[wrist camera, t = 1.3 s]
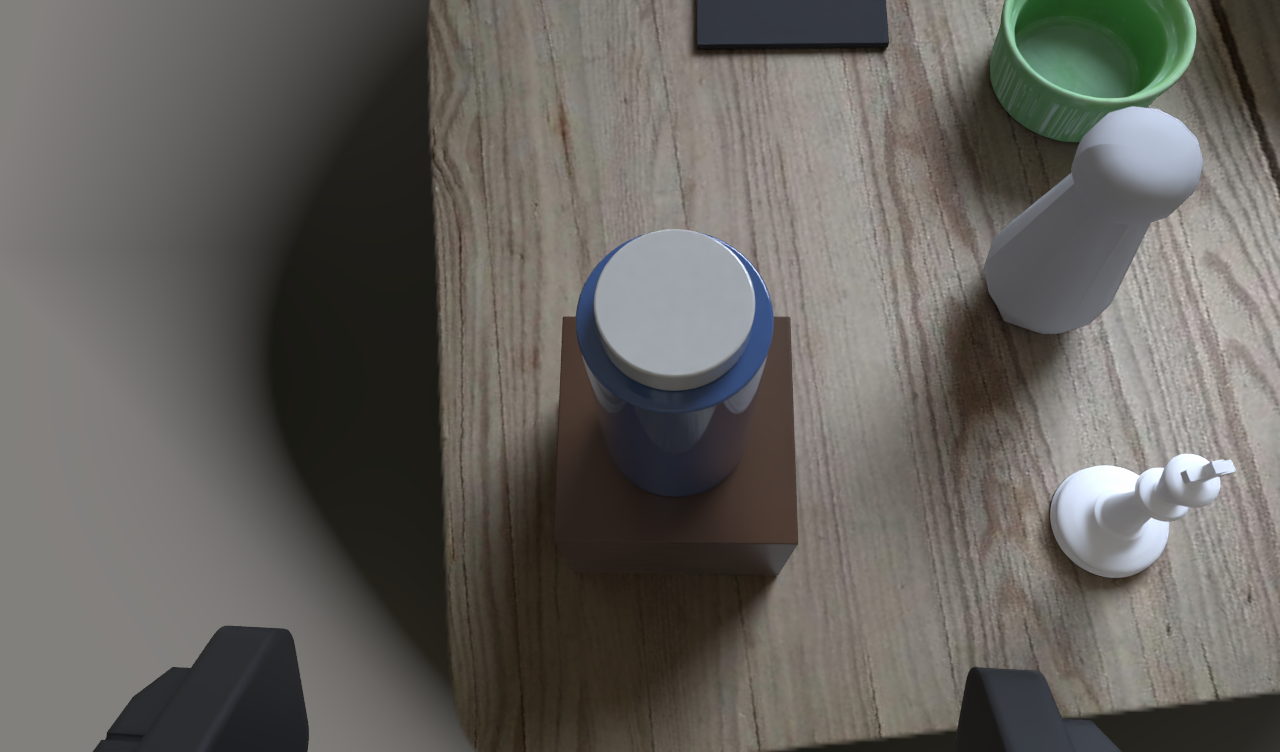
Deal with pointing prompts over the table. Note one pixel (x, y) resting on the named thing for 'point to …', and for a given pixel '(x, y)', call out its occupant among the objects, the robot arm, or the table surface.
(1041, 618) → the table surface
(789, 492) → the cube
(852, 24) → the coaster
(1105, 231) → the salt shaker
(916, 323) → the table surface
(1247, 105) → the table surface
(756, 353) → the blue cylinder
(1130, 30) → the ramekin
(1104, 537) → the chess piece
